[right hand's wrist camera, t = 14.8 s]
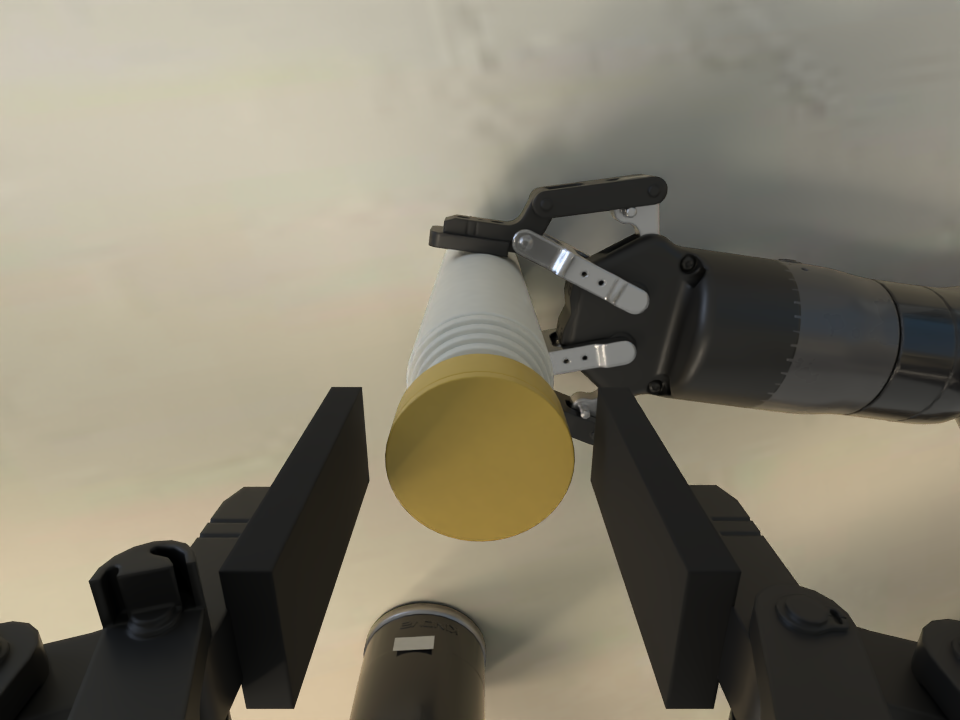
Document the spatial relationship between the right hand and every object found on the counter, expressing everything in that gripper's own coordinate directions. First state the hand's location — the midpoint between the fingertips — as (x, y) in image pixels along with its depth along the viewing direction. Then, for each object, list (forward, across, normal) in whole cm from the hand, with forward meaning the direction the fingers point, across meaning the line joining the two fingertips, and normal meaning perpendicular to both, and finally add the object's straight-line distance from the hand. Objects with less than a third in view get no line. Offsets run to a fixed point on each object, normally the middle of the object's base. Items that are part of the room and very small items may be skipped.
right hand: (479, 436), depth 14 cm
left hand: (+14, -3, 0) cm, 15 cm away
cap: (-1, 0, 0) cm, 1 cm away
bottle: (+21, 0, 0) cm, 21 cm away
